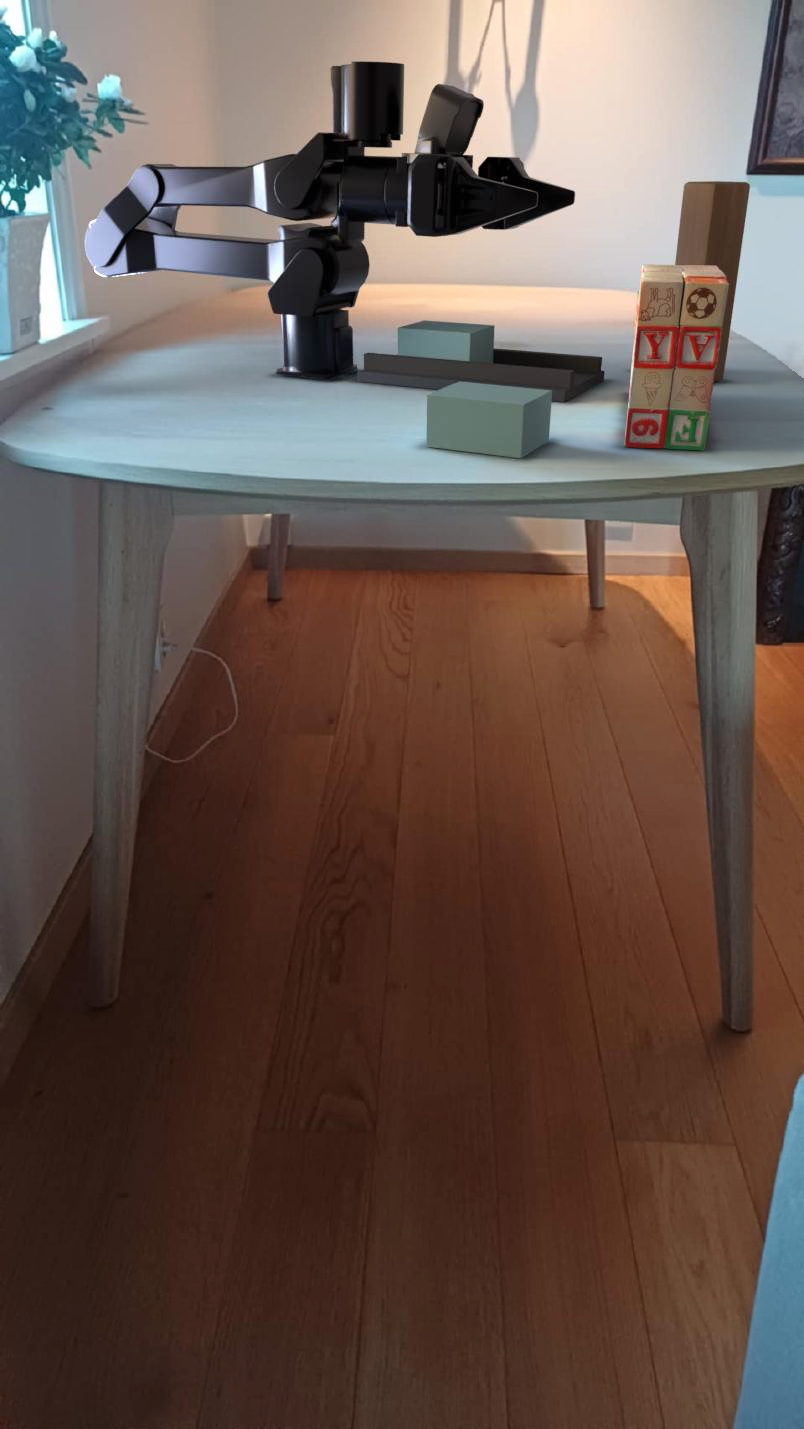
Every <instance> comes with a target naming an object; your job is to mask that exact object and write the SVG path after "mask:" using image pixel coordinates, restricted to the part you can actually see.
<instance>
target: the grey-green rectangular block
mask: <svg viewBox="0 0 804 1429" xmlns="http://www.w3.org/2000/svg"><path fill="white" fill-rule="evenodd" d="M551 400H552V390H543V389H532V388H522V387H511V386H501V385H490V384H480V383H469V382H457V383H455V384H452V385H450V386H447V387H445V388H442V389H440V390H438V389H436V390H435V391H433V392H430V393H428V394H426V441H425V442H426V443H425V444H426V445H425V446H426V447H427V448H434V449H442V450H450V451H456V452H457V451H458V452H465V453H472V454H473V453H474V454H481V455H490V456H499V457H507V458H513V459H523V458H524V457H526V456H528V455H529V454H531V453H533V452H535V451H536V450H538V449H539V448H541V447H542V446H544V445H546V444H548V443H549V442H550V430H551V414H552V401H551Z"/></svg>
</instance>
